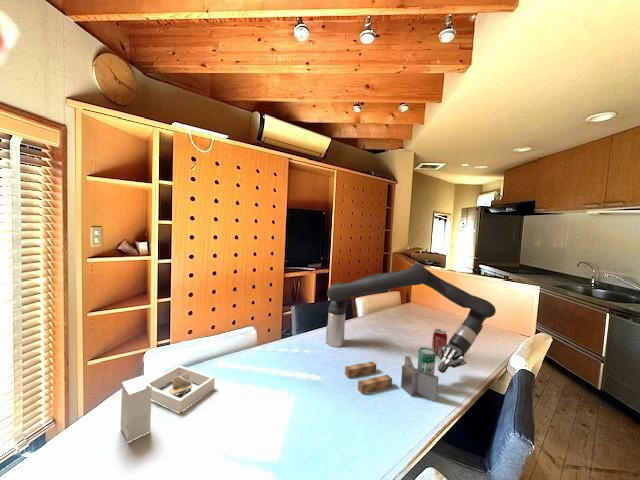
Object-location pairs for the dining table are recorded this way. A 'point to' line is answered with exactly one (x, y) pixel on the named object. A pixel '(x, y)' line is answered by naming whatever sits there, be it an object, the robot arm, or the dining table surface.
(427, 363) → the can
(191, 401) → the holder tray
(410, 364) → the v cradle
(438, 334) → the soda can
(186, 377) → the architectural model
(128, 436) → the skincare box
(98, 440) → the dining table surface
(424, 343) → the dining table surface
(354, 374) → the wooden bar pair
